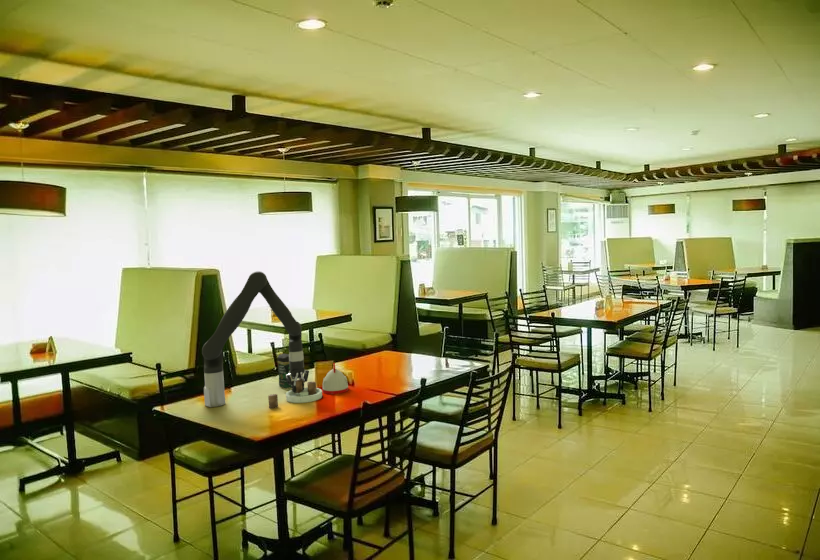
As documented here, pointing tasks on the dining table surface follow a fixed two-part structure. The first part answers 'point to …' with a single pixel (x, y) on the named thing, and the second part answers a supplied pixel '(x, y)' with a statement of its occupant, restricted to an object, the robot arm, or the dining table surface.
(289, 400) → the tray
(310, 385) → the bead
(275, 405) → the brown short cylinder
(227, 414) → the dining table surface
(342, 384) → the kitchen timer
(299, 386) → the bead
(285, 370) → the coffee jar
